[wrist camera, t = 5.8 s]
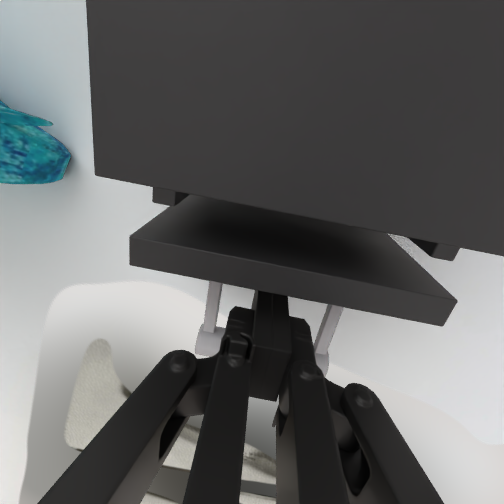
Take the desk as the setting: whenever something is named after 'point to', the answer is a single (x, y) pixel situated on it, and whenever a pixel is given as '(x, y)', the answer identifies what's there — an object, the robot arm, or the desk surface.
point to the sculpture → (29, 150)
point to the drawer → (289, 263)
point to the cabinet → (310, 108)
